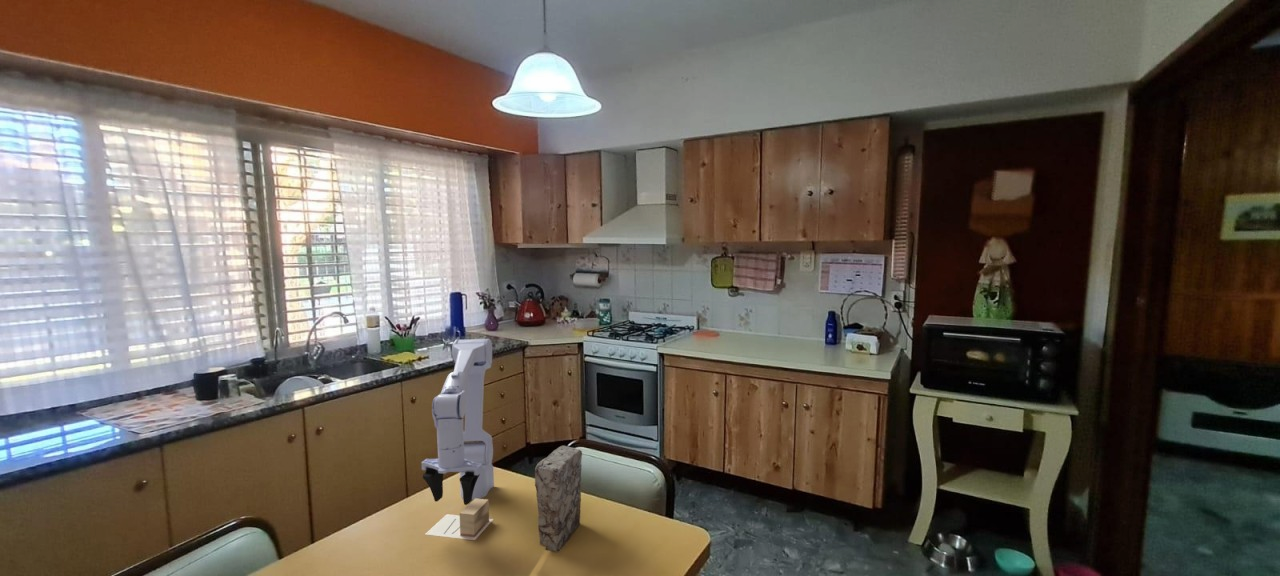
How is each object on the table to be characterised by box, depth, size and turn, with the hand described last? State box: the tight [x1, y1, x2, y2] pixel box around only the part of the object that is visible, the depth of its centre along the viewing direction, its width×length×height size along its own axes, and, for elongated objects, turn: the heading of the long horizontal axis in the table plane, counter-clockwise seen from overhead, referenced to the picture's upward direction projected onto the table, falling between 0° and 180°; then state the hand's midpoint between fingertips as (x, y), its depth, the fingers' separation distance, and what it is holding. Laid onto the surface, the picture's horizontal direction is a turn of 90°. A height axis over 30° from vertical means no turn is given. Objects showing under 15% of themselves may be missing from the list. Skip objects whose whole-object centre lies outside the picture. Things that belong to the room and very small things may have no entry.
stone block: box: [534, 445, 583, 553], centre depth 114 cm, size 13×7×20 cm, turn 167°
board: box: [424, 513, 494, 541], centre depth 117 cm, size 9×13×1 cm
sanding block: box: [459, 498, 490, 537], centre depth 116 cm, size 7×4×6 cm, turn 169°
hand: (453, 500), depth 112 cm, fingers open, 7 cm apart
